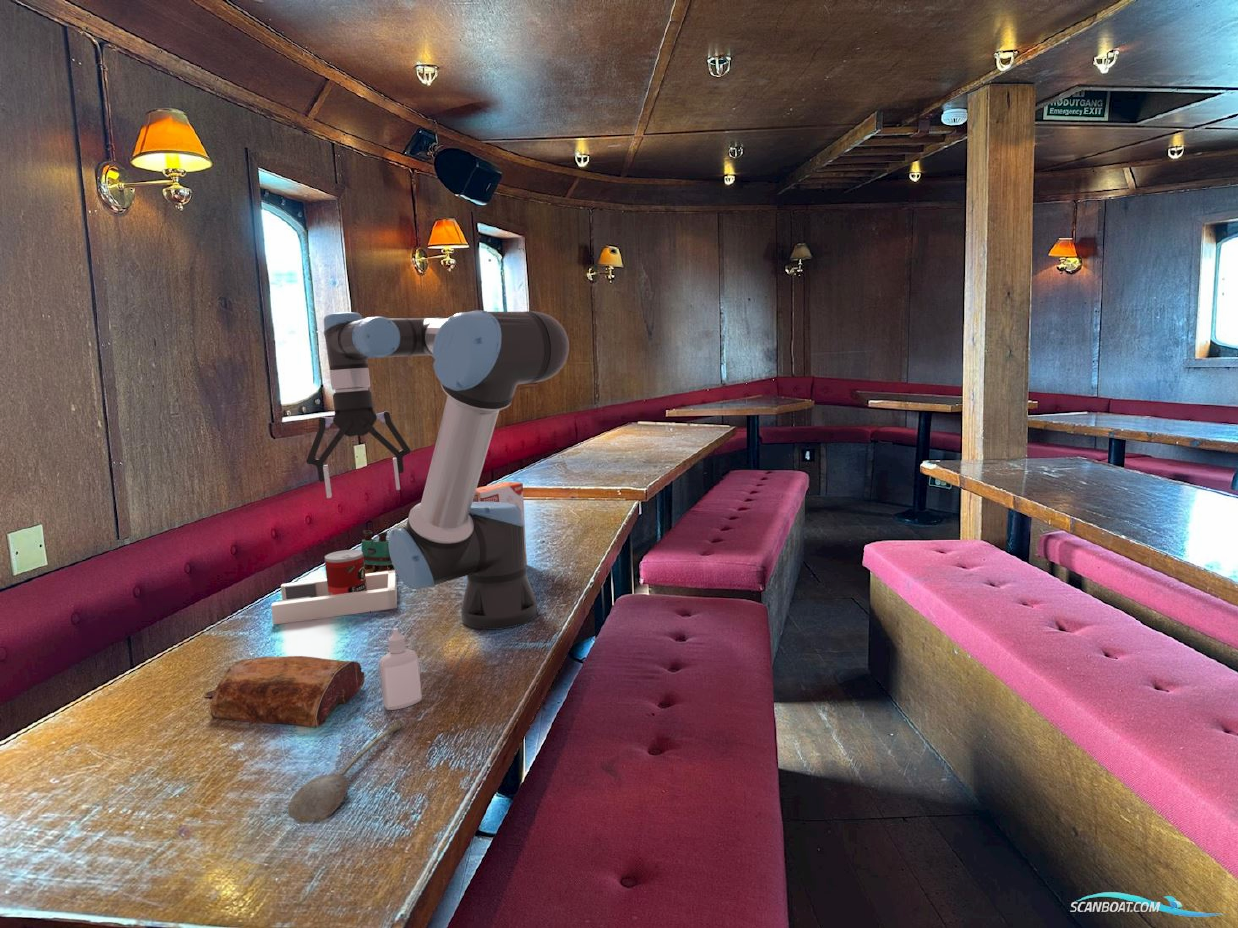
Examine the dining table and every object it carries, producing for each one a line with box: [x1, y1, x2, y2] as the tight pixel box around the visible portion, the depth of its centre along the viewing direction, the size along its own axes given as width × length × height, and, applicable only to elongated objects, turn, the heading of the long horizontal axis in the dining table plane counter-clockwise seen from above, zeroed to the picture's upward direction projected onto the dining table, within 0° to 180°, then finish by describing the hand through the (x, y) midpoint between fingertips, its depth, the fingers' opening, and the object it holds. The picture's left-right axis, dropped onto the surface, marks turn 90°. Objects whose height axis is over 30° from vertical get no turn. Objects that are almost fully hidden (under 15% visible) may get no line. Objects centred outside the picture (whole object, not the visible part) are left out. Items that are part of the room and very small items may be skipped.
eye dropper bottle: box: [378, 627, 423, 711], centre depth 113 cm, size 4×6×12 cm
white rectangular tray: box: [270, 569, 398, 626], centre depth 160 cm, size 15×24×4 cm, turn 106°
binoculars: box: [360, 530, 395, 574], centre depth 184 cm, size 9×11×10 cm
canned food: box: [324, 549, 367, 595], centre depth 160 cm, size 8×8×11 cm
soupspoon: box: [287, 719, 406, 822], centre depth 96 cm, size 22×3×7 cm
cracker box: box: [473, 481, 528, 566], centre depth 178 cm, size 14×6×21 cm, turn 143°
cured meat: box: [203, 655, 366, 728], centre depth 118 cm, size 18×25×7 cm
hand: (364, 493), depth 154 cm, fingers open, 13 cm apart
